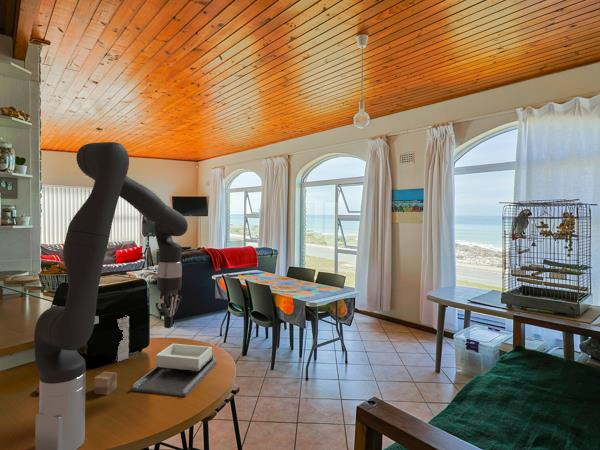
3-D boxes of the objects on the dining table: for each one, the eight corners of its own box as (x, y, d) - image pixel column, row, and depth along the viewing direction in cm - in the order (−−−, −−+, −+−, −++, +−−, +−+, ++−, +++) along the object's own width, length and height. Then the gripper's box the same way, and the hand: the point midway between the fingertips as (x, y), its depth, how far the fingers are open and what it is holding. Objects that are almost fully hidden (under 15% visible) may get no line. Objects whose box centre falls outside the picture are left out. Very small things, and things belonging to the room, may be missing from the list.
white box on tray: (198, 375, 124) (198, 359, 124) (155, 371, 126) (156, 355, 126) (211, 361, 135) (212, 347, 135) (172, 358, 138) (172, 343, 138)
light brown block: (107, 395, 112) (107, 379, 112) (94, 393, 113) (94, 377, 113) (116, 388, 116) (117, 372, 116) (104, 386, 117) (104, 371, 117)
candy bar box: (100, 355, 141) (100, 313, 141) (112, 351, 146) (113, 311, 145) (117, 362, 135) (117, 319, 135) (129, 358, 140) (130, 316, 139)
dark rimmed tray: (185, 396, 112) (186, 383, 112) (132, 390, 115) (132, 378, 115) (216, 364, 137) (216, 353, 137) (171, 359, 139) (171, 349, 139)
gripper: (170, 279, 113) (168, 334, 113) (189, 272, 126) (188, 322, 126) (147, 277, 114) (146, 332, 115) (169, 271, 127) (168, 320, 128)
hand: (168, 327), depth 121 cm, fingers closed
